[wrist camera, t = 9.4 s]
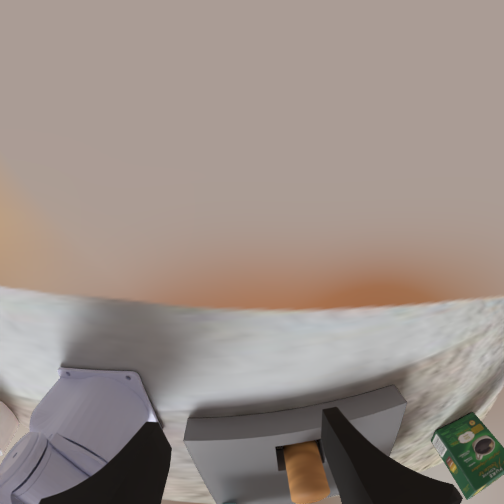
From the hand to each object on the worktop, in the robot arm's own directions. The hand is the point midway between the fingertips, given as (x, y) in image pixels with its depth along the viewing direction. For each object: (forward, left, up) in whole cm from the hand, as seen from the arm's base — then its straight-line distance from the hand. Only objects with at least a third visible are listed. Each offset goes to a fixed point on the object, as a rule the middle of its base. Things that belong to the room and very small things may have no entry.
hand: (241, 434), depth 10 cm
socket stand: (+4, -17, -10) cm, 20 cm away
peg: (+4, -13, -10) cm, 17 cm away
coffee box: (+27, -23, -11) cm, 37 cm away
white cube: (-38, -14, -11) cm, 42 cm away
